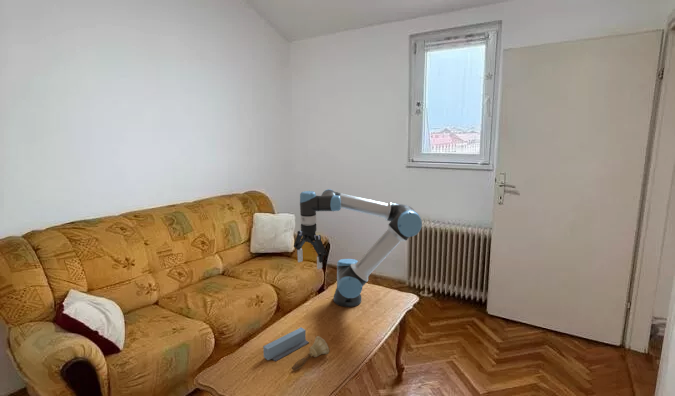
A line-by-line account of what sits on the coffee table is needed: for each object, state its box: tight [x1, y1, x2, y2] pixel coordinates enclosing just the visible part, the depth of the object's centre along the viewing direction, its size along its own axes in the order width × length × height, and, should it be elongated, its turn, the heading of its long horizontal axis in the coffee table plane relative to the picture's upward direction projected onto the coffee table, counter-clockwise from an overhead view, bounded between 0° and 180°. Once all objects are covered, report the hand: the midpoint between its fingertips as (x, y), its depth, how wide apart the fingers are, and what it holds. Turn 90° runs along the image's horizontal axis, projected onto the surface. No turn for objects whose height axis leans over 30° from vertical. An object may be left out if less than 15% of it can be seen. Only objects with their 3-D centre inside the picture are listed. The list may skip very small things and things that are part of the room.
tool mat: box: [271, 339, 310, 362], centre depth 158 cm, size 18×7×1 cm, turn 135°
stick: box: [262, 327, 307, 361], centre depth 157 cm, size 20×3×5 cm, turn 135°
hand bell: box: [291, 335, 330, 371], centre depth 149 cm, size 8×8×16 cm
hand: (309, 264), depth 182 cm, fingers open, 13 cm apart
